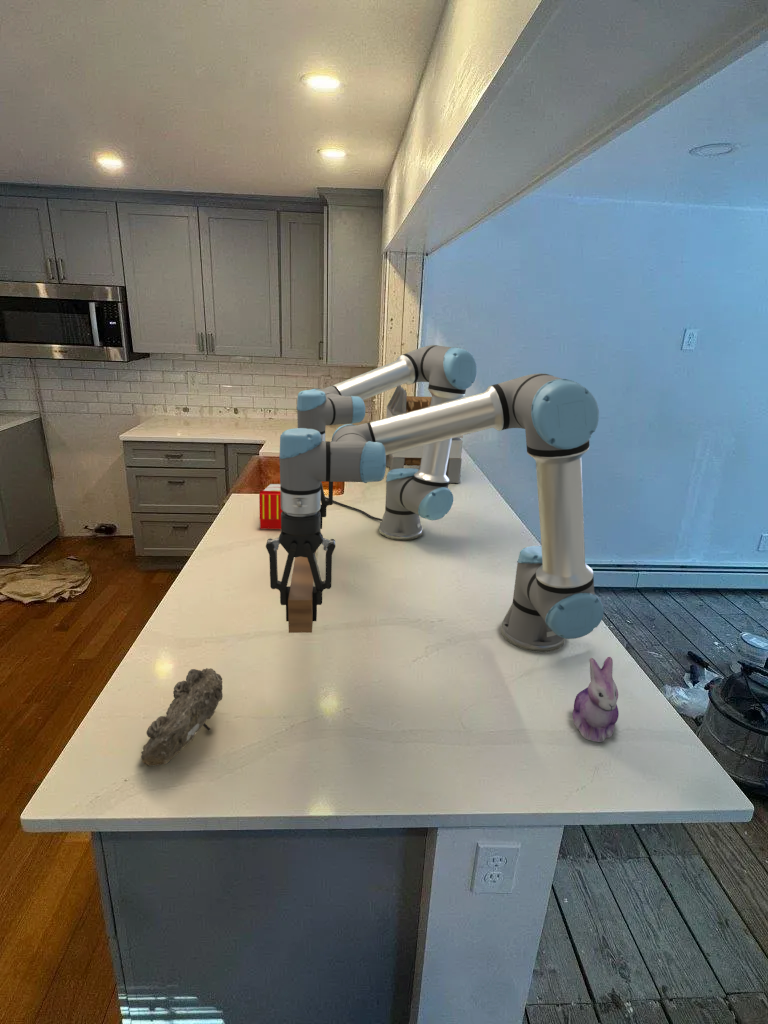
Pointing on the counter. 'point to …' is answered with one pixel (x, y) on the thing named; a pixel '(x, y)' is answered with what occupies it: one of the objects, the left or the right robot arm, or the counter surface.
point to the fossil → (183, 716)
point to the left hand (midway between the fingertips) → (311, 527)
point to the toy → (270, 507)
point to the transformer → (413, 456)
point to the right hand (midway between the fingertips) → (301, 617)
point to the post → (301, 597)
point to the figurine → (597, 703)
